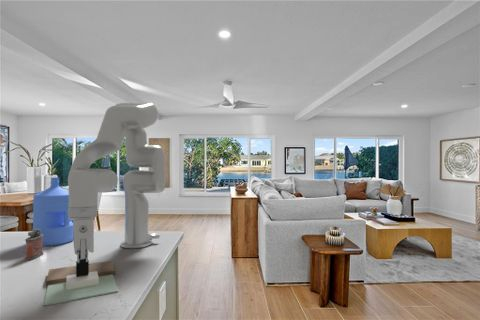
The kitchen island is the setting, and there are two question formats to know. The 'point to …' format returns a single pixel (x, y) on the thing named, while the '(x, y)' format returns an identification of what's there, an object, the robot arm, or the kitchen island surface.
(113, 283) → the mat
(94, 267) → the riser
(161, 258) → the kitchen island surface
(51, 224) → the water jug
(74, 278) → the tile
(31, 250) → the lighter
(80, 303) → the kitchen island surface
